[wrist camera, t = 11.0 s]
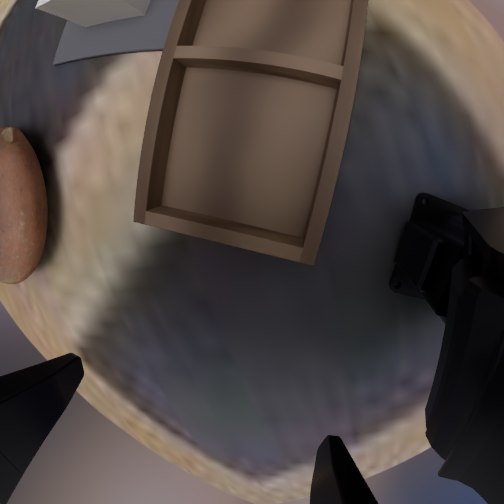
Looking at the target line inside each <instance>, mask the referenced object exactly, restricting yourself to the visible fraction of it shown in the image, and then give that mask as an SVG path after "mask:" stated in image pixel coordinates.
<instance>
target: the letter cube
mask: <svg viewBox="0 0 504 504" xmlns="http://www.w3.org/2000/svg"><path fill="white" fill-rule="evenodd" d="M149 3H150V0H39V1H38V3H37V5H36V7H35V8H36V9H39V10H42V11H45V12H48V13H51V14H53V15H56V16H59V17H61V18H64V19H66V20H69V21H71V22H74V23H76V24H79V25H81V26H83V27H89V26H92V25H97V24H101V23H105V22H110V21H115V20H120V19H125V18H131V17H137V16H144V15H145V14H146V11H147V8H148V6H149Z"/></svg>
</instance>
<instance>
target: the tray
mask: <svg viewBox="0 0 504 504" xmlns="http://www.w3.org/2000/svg"><path fill="white" fill-rule="evenodd" d="M367 6H368V0H179V3H178V5H177V8H176V11H175V14H174V17H173V20H172V23H171V26H170V29H169V32H168V35H167V39H166V42H165V45H164V49H163V52H162V56H161V60H160V63H159V67H158V71H157V75H156V79H155V83H154V88H153V92H152V96H151V101H150V106H149V111H148V116H147V121H146V127H145V132H144V138H143V144H142V151H141V157H140V164H139V172H138V180H137V189H136V199H135V210H134V222H137V223H141V224H145V225H150V226H154V227H158V228H162V229H166V230H170V231H174V232H178V233H182V234H186V235H190V236H194V237H198V238H203V239H207V240H211V241H215V242H219V243H223V244H227V245H231V246H235V247H239V248H243V249H247V250H251V251H255V252H260V253H264V254H268V255H272V256H276V257H280V258H284V259H288V260H292V261H296V262H300V263H304V264H308V265H312V266H314V263H315V260H316V256H317V253H318V249H319V246H320V242H321V239H322V235H323V232H324V228H325V224H326V220H327V217H328V213H329V209H330V205H331V201H332V197H333V193H334V189H335V185H336V181H337V177H338V173H339V168H340V164H341V160H342V155H343V151H344V146H345V142H346V137H347V132H348V127H349V122H350V117H351V112H352V107H353V102H354V96H355V91H356V85H357V79H358V73H359V67H360V60H361V54H362V47H363V40H364V32H365V24H366V15H367Z"/></svg>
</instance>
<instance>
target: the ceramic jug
mask: <svg viewBox="0 0 504 504" xmlns="http://www.w3.org/2000/svg"><path fill="white" fill-rule="evenodd" d="M47 216H48V210H47V195H46V188H45V182H44V178H43V174H42V170H41V167H40V164H39V161H38V158H37V156H36V154H35V152H34V150H33V148H32V146H31V144H30V143H29V141H28V140H27V139H26V137H25V136H24V135H23V133H22V132H21V131H20V130H19V129H17V128H13V127H8V128H7V127H0V281H1V282H3V283H7V284H16V283H19V282H22V281H24V280H25V279H27V278H28V277H29V276H30V275H31V274H32V272H33V271H34V270H35V268H36V267H37V265H38V263H39V261H40V259H41V256H42V254H43V250H44V246H45V241H46V235H47Z"/></svg>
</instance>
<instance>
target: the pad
mask: <svg viewBox="0 0 504 504" xmlns="http://www.w3.org/2000/svg"><path fill="white" fill-rule="evenodd" d="M178 3H179V0H150V3H149V6H148V8H147V11H146V14H145V15H144V16H137V17H131V18H125V19H120V20H115V21H110V22H105V23H101V24H97V25H92V26H89V27H83V26H81V25H79V24H76V23H74V22H71V21H69V20H67V23H66V25H65V28H64V31H63V34H62V36H61V39H60V42H59V45H58V49H57V52H56V55H55V59H54V62H53V65H60V64H64V63H69V62H73V61H78V60H83V59H89V58H94V57H101V56H108V55H115V54H123V53H133V52H146V51H163V49H164V45H165V42H166V39H167V35H168V32H169V29H170V26H171V23H172V20H173V17H174V14H175V11H176V8H177V5H178Z"/></svg>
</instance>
